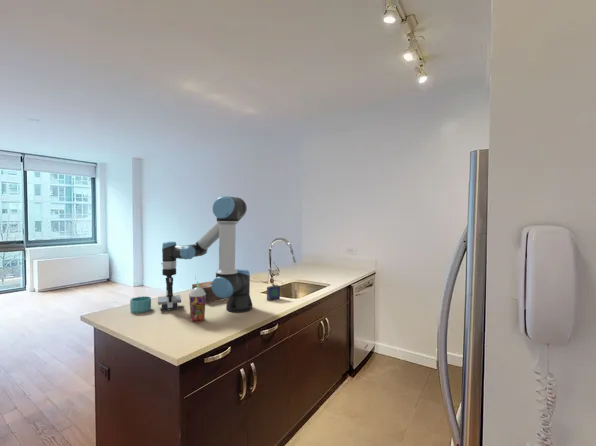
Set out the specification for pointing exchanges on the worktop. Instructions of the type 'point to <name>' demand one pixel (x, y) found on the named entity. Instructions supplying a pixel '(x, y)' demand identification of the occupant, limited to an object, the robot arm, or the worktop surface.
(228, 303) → the robot arm
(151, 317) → the worktop surface
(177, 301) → the grey flat square slab
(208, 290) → the tissue box cover
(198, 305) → the smoothie
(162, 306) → the dark grey square block
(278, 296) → the blue box
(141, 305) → the bowl
